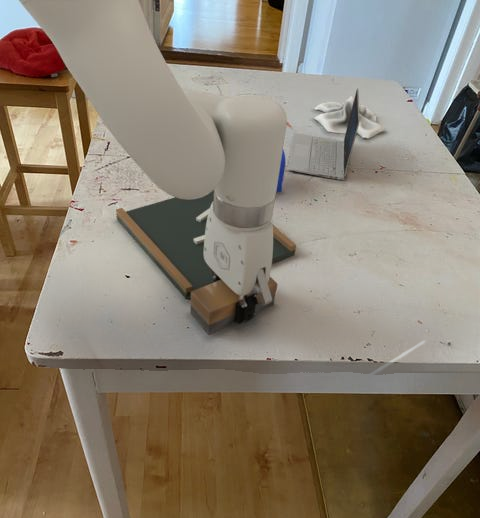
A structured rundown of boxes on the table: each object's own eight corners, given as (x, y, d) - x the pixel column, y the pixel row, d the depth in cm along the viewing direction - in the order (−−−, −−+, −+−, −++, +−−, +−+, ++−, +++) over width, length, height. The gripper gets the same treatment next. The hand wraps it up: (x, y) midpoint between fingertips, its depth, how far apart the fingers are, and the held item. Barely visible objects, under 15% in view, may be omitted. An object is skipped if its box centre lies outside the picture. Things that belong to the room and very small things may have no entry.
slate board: (185, 299, 72) (185, 288, 71) (116, 219, 85) (115, 209, 83) (294, 254, 82) (296, 244, 81) (218, 189, 95) (218, 179, 93)
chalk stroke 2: (196, 244, 80) (196, 241, 80) (193, 241, 81) (193, 238, 80) (218, 236, 82) (218, 234, 82) (214, 233, 83) (215, 231, 82)
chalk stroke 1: (200, 222, 85) (200, 219, 84) (195, 220, 85) (196, 217, 84) (216, 210, 88) (217, 207, 87) (212, 208, 88) (212, 205, 87)
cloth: (386, 143, 116) (394, 118, 112) (312, 132, 117) (316, 107, 113) (381, 108, 132) (387, 84, 127) (315, 98, 132) (319, 75, 128)
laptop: (293, 136, 115) (303, 79, 105) (344, 144, 114) (359, 88, 105) (286, 172, 102) (297, 111, 93) (344, 181, 102) (360, 121, 92)
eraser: (208, 335, 68) (209, 313, 64) (190, 313, 70) (190, 291, 67) (273, 305, 73) (277, 283, 70) (254, 286, 76) (257, 264, 72)
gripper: (182, 179, 61) (182, 283, 74) (261, 251, 52) (245, 355, 65) (229, 166, 65) (222, 268, 78) (311, 231, 56) (287, 334, 69)
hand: (233, 307), depth 71 cm, fingers closed on eraser, 5 cm apart
